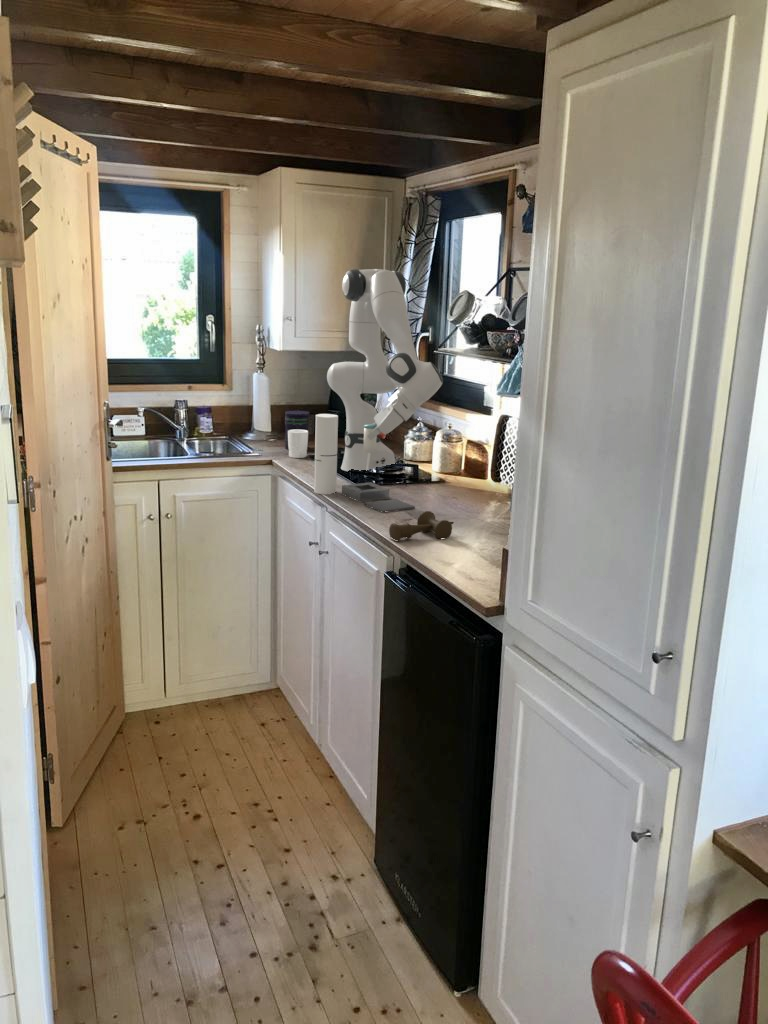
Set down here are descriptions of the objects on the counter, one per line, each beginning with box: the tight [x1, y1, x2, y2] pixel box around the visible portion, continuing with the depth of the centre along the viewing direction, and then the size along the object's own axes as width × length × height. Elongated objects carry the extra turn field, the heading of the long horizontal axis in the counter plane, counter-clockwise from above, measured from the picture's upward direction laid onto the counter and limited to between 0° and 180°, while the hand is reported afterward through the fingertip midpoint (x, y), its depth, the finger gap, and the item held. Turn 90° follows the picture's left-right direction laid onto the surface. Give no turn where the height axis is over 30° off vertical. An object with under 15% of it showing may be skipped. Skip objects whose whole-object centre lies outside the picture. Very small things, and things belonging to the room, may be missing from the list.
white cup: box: [288, 429, 309, 459], centre depth 326 cm, size 8×8×10 cm
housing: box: [341, 481, 390, 502], centre depth 270 cm, size 11×11×3 cm
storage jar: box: [284, 409, 310, 451], centre depth 340 cm, size 10×10×15 cm
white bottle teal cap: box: [363, 424, 377, 453], centre depth 263 cm, size 4×4×8 cm
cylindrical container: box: [313, 413, 339, 495], centre depth 271 cm, size 7×7×25 cm
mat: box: [364, 498, 416, 513], centre depth 259 cm, size 12×10×1 cm
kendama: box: [388, 510, 454, 540], centre depth 229 cm, size 6×10×20 cm
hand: (368, 436), depth 263 cm, fingers closed on white bottle teal cap, 4 cm apart
